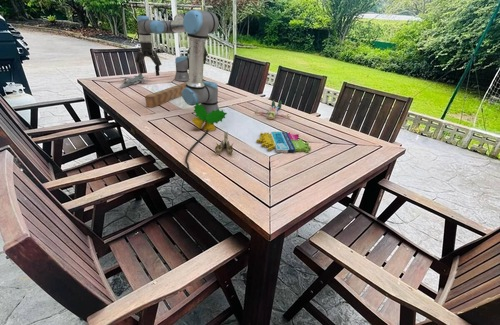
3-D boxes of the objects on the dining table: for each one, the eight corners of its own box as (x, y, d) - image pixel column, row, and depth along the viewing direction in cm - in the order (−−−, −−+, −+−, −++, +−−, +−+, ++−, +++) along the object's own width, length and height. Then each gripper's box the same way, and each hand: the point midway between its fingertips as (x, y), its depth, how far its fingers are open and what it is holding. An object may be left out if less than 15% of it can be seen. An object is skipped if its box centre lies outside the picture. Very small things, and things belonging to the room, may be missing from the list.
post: (152, 107, 193) (150, 97, 189) (146, 106, 194) (144, 95, 190) (203, 87, 257) (203, 78, 253) (199, 86, 258) (198, 78, 254)
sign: (313, 150, 142) (258, 149, 139) (312, 153, 143) (258, 152, 140) (301, 132, 164) (254, 130, 161) (301, 134, 165) (254, 133, 162)
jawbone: (234, 135, 144) (233, 125, 135) (233, 160, 138) (232, 151, 129) (217, 135, 144) (216, 125, 135) (216, 160, 138) (214, 150, 129)
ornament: (218, 133, 171) (224, 110, 169) (221, 134, 163) (227, 111, 161) (186, 125, 162) (192, 101, 160) (189, 126, 155) (195, 101, 153)
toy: (294, 102, 205) (291, 112, 179) (293, 111, 208) (289, 122, 182) (260, 97, 210) (251, 107, 184) (259, 106, 213) (250, 117, 187)
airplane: (115, 80, 258) (112, 69, 253) (148, 78, 271) (147, 68, 266) (118, 90, 229) (115, 78, 224) (155, 87, 243) (153, 76, 238)
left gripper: (211, 38, 231) (211, 64, 242) (187, 36, 238) (188, 60, 249) (207, 39, 225) (207, 65, 236) (182, 36, 232) (184, 61, 242)
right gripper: (164, 43, 176) (167, 75, 186) (134, 39, 183) (139, 71, 193) (157, 44, 170) (161, 77, 180) (126, 40, 177) (131, 72, 187)
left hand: (197, 63), depth 242 cm, fingers open, 13 cm apart
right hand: (149, 74), depth 187 cm, fingers open, 13 cm apart
